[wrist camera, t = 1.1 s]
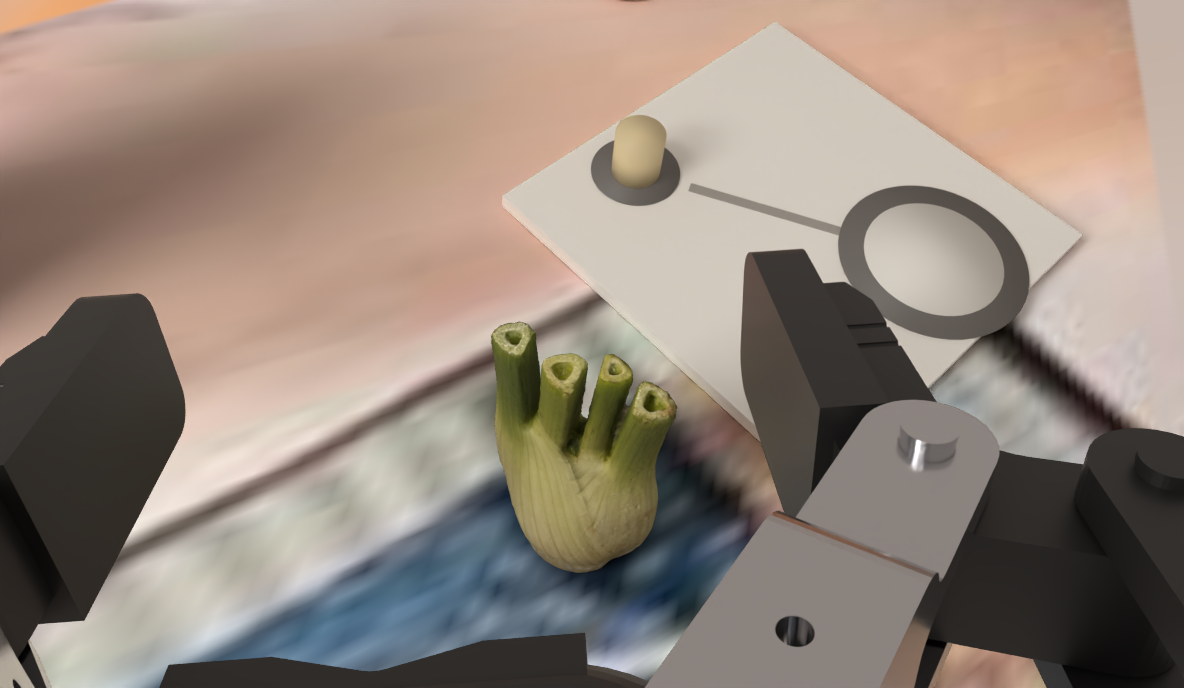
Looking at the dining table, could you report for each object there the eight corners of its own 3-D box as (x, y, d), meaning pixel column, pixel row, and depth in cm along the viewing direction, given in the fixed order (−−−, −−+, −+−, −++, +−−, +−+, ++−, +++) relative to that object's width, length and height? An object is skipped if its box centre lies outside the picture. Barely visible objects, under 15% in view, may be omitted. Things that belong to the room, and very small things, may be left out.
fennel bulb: (482, 493, 36) (465, 331, 26) (582, 430, 38) (602, 255, 28) (567, 611, 34) (585, 485, 24) (669, 539, 36) (724, 392, 26)
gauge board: (502, 206, 44) (500, 157, 41) (771, 33, 52) (785, -19, 49) (828, 504, 37) (853, 470, 34) (1083, 251, 45) (1121, 205, 42)
